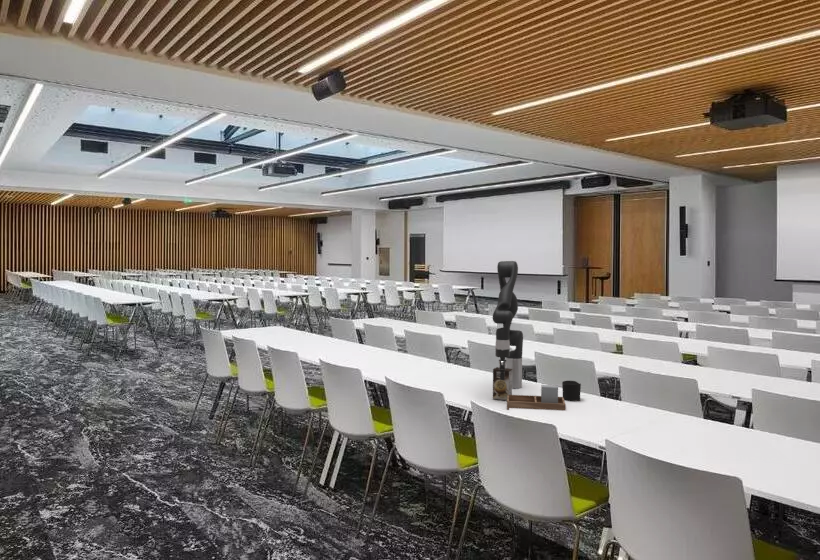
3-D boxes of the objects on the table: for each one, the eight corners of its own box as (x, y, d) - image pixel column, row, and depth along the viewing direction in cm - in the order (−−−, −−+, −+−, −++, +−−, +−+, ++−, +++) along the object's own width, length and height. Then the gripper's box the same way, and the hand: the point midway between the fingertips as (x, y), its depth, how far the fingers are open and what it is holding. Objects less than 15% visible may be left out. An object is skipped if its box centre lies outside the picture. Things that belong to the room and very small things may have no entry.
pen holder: (560, 402, 306) (560, 383, 305) (564, 398, 314) (564, 379, 313) (578, 404, 301) (578, 385, 301) (582, 400, 309) (582, 381, 309)
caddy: (507, 402, 306) (507, 394, 306) (563, 404, 301) (563, 396, 301) (507, 409, 292) (507, 401, 291) (565, 412, 286) (565, 404, 286)
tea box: (541, 404, 298) (541, 384, 298) (557, 404, 297) (557, 385, 296) (541, 406, 293) (541, 387, 293) (557, 407, 292) (558, 387, 291)
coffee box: (492, 398, 311) (492, 368, 311) (496, 396, 317) (496, 366, 316) (508, 400, 307) (508, 370, 306) (512, 397, 313) (512, 368, 312)
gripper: (495, 345, 318) (495, 375, 319) (495, 349, 304) (494, 381, 305) (509, 345, 317) (509, 375, 318) (509, 350, 303) (509, 381, 304)
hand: (502, 378), depth 312 cm, fingers closed on coffee box, 7 cm apart
